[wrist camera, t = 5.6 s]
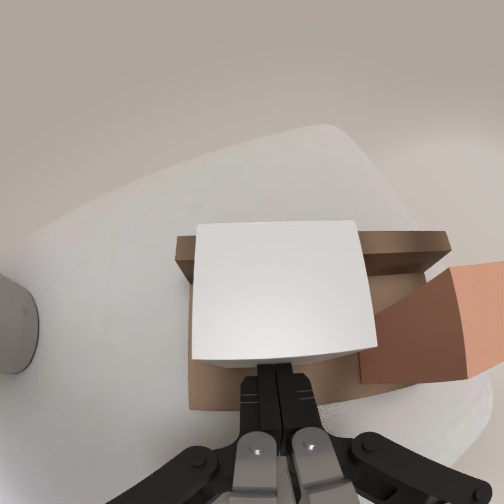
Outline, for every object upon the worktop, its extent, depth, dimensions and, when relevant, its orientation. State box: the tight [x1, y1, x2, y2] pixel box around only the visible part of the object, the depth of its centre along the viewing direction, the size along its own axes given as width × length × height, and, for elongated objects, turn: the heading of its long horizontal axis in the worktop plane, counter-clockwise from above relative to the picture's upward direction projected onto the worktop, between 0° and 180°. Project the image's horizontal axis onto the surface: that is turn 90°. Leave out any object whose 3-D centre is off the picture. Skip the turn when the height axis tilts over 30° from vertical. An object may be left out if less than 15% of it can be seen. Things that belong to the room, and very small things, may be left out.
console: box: [175, 231, 451, 411], centre depth 16 cm, size 18×10×6 cm, turn 92°
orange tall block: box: [359, 262, 504, 384], centre depth 11 cm, size 5×4×10 cm
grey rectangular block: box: [192, 221, 377, 368], centre depth 12 cm, size 5×4×10 cm
